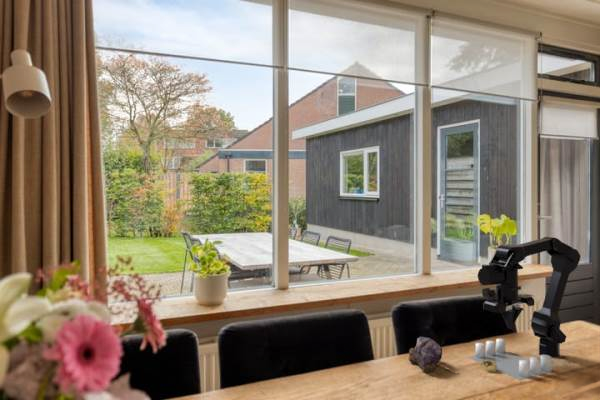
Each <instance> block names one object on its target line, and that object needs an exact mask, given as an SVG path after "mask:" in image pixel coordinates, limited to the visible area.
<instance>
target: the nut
mask: <svg viewBox="0 0 600 400" xmlns="http://www.w3.org/2000/svg"><path fill="white" fill-rule="evenodd" d="M479 367H480V370H483V371H484V372H486V373H496V372H497V371H498V370H497V365H496V362H494V361H492V360H490V359H489V360H483V361H481V363H480V364H479Z"/></svg>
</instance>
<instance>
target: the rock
mask: <svg viewBox="0 0 600 400" xmlns="http://www.w3.org/2000/svg"><path fill="white" fill-rule="evenodd" d="M416 339H417V340H416V345H415V346H414V347H410V349H409V351H408V353H409V354H408V355H409V356H408V361H409V363H412V364H416V366H417V365H418V367H420V369H421V370H422V371H424V372H426V373H432V372H434V371H435V368H436V367H437V366H438V364H439V362H440V361H441V360H442V356H443V348H442V346H440V344H439V343H437V342H436V341H435V340H434V339H432V338H430V337H427V336H419V337H418V338H416Z"/></svg>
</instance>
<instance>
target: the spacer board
mask: <svg viewBox="0 0 600 400" xmlns="http://www.w3.org/2000/svg"><path fill="white" fill-rule="evenodd" d="M468 358H469V359H471V360H473V361H475V362H478V363H480V364H481V361H483V360H489V359H490V360H492V361H494V362H496V365H497V371H498V372H500V373H503V374H505V375H507V376H508V377H511V378H513V379H516V380H519V381H522V380H523V381H524V380H526V379H529V378H533V377H538V376H540V375H544V374H547V373H551V372H555V370H554V369H552V357H551V356H549V355H540V358H539V357H535V356H530V357H529V360H528V359H526V358H523V357H521V356H518V355H516V354H512V353H510V352H508V351H506V339H504V338H496V339H495V341H494V340H486V341H485V343H482V342H475V355H473V356H469V357H468Z"/></svg>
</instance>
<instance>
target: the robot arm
mask: <svg viewBox="0 0 600 400" xmlns="http://www.w3.org/2000/svg"><path fill="white" fill-rule="evenodd" d="M543 252H546V253H547V255H549V256H550V263H551V266H552V267H551V268H552V272H551V276H550V280H549V283H548V286H547V288H546V289H547V290H546V293H545V296H544V300H543V303H542V307H541V308H540V309H539V310H538V311H537V310H534V311H533V313H532V316H531V319H530V322H531V323H530V326H531V327H530V328H531V329H532V332H533V335H534V336H535V337H537V338H539V341H538V342H539V344H538V355H539V356H541V355H549V356H551V358H557V359H558V358H559V359H564V358H565V356H564V355H562V354H560V350H561V347H560V346H561V345H560V344H562V345H563V343H565V342H566V340H567V335H566V334H565V333H564V332H563V331H562V330H561V319H560V317H559V312H560V308H561V304H562V301H563V297H564V294H565V289H566V287H567V283H568V280H569V277H570V274H571V273H572V272H574V271H575V270H576V269H577V268H578V265H579V263H580V261H581V254H580V252H579V251H578V249H576V248H574V247H572V246H570V245H568V244H567V243H565V242H563V241H561V240H560V239H559V238H557V237H554V236H544V237H542V238H539V239H535V240H532V241H528V242H523V243H520V244H500V245H498V246H497V247H496V250H495V252H494V254H493V255H492V257H491V259H490V261H489V263H488V264H482V265H481V268H480V269H479V270H478V273H477V279H478V281H479V283H480V284H481V285H482V286H494V285H495V288H494V289H491V288H490V287H486V288H485V287H484V288H482V289H481V292H482V298H484V299H486V300H485V301H484V302H483V303H482V305H483V306H482V307H483V310H484V311H488V312H493V313H496V314H501V316H502V318H503V320H504V322H505V326H506V328H507V329H508V330H510V329H513V327H514V325H515V324H516V322H517V320H518V318H519V316H520V314H521V313H522V311H524V308H523V307H521V306H520V305H521V304H526V306H527V307H532V306H535V299H534V298H533V297H532V296H530V295H525V294H521V293H520V294H519V291H520V290H521V289H522V286H520V285H519V270H523V269H524V266H522V265H521V264H520V263H521V262H523V261H524V260H525V259H526V258H527V257H529V256H533V255H536V254H540V253H543Z"/></svg>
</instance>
